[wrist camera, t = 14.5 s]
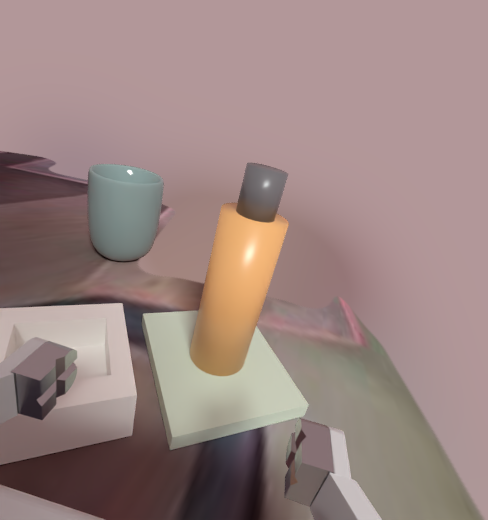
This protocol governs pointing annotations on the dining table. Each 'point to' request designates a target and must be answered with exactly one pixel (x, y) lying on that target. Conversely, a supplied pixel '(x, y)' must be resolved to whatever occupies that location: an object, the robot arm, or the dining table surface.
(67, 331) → the white bottle holder
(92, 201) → the cup
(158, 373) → the mat
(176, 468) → the dining table surface
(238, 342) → the orange capped bottle
